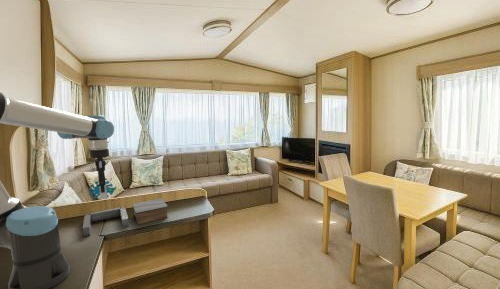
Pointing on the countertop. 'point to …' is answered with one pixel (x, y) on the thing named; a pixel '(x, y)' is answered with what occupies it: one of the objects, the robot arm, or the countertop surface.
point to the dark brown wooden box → (150, 210)
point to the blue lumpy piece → (96, 189)
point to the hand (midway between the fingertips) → (103, 196)
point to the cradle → (104, 215)
